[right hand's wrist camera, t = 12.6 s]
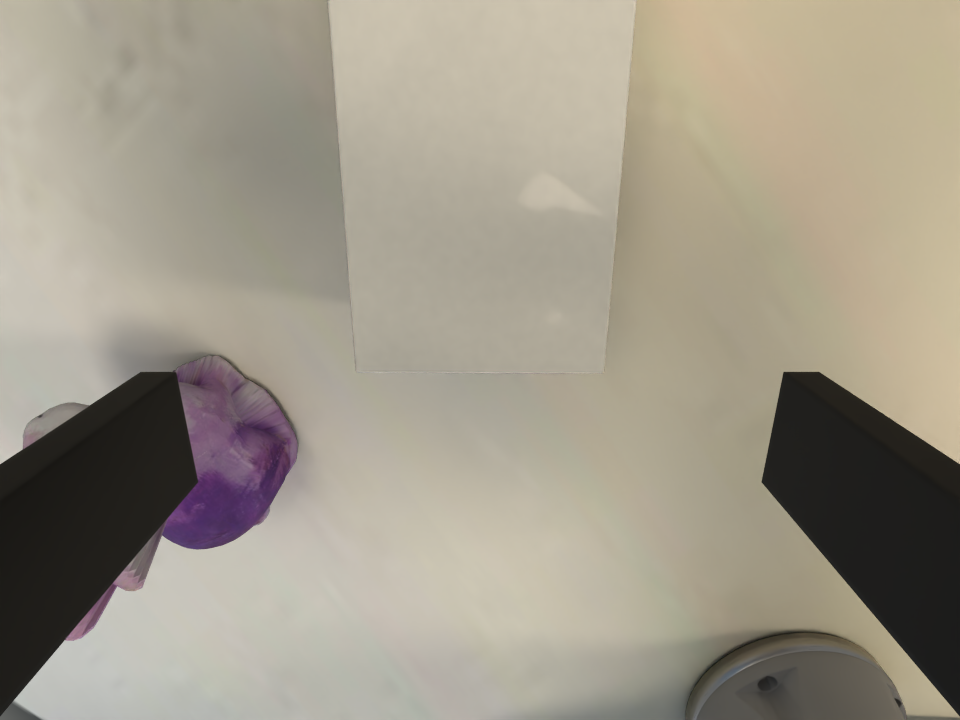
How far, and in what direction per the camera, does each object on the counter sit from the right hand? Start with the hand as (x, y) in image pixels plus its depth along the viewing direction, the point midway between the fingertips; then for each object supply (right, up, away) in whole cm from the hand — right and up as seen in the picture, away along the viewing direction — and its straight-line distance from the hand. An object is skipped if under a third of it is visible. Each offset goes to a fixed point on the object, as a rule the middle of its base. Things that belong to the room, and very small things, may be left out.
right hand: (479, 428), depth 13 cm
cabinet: (0, +14, +17) cm, 22 cm away
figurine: (-16, -2, +23) cm, 28 cm away
